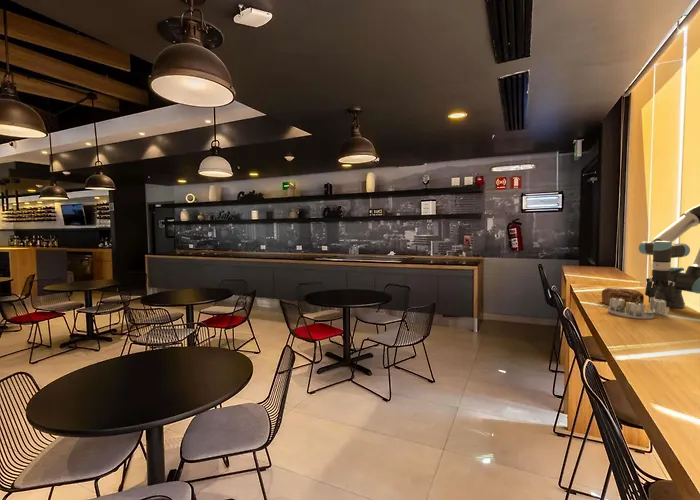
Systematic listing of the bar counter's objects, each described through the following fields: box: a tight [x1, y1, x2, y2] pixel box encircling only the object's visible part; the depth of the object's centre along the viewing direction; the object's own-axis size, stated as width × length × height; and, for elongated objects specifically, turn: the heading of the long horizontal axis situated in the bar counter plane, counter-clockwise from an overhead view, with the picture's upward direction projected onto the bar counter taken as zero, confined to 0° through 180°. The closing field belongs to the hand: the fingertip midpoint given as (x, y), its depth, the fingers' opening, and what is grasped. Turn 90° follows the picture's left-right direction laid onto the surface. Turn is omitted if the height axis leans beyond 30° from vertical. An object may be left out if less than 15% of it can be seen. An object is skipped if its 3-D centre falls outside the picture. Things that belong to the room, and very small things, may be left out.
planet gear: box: [649, 299, 665, 314], centre depth 197 cm, size 7×7×6 cm
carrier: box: [608, 298, 655, 320], centre depth 196 cm, size 20×20×8 cm
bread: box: [601, 287, 645, 307], centre depth 218 cm, size 19×11×10 cm, turn 72°
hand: (658, 310), depth 197 cm, fingers closed on planet gear, 7 cm apart
